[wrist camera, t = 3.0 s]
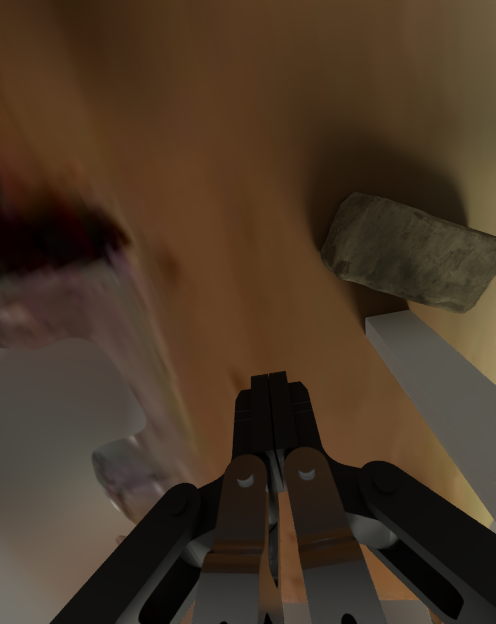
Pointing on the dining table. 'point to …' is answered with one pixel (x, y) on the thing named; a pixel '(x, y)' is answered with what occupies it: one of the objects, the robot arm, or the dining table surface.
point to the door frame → (443, 394)
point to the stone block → (409, 253)
